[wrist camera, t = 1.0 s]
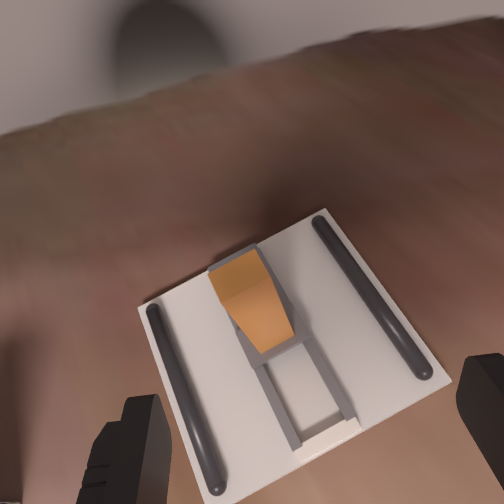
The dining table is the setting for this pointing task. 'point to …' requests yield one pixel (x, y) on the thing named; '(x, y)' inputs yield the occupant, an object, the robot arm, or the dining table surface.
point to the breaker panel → (286, 363)
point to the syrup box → (9, 502)
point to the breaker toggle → (257, 309)
